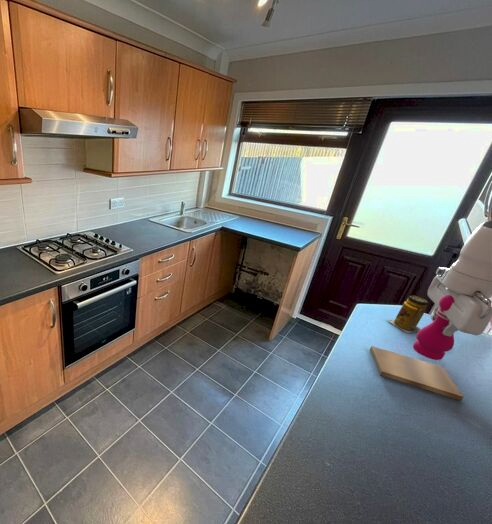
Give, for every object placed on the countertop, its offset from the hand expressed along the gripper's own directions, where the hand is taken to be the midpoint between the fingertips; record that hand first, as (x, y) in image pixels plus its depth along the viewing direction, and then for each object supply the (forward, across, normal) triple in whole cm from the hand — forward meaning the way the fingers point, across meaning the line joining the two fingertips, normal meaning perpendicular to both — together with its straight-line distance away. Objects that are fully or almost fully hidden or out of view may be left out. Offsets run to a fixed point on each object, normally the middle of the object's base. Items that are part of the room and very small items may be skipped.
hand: (440, 327), depth 76 cm
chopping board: (+17, 0, 0) cm, 17 cm away
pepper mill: (+9, 0, 0) cm, 9 cm away
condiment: (+17, +29, -7) cm, 34 cm away
